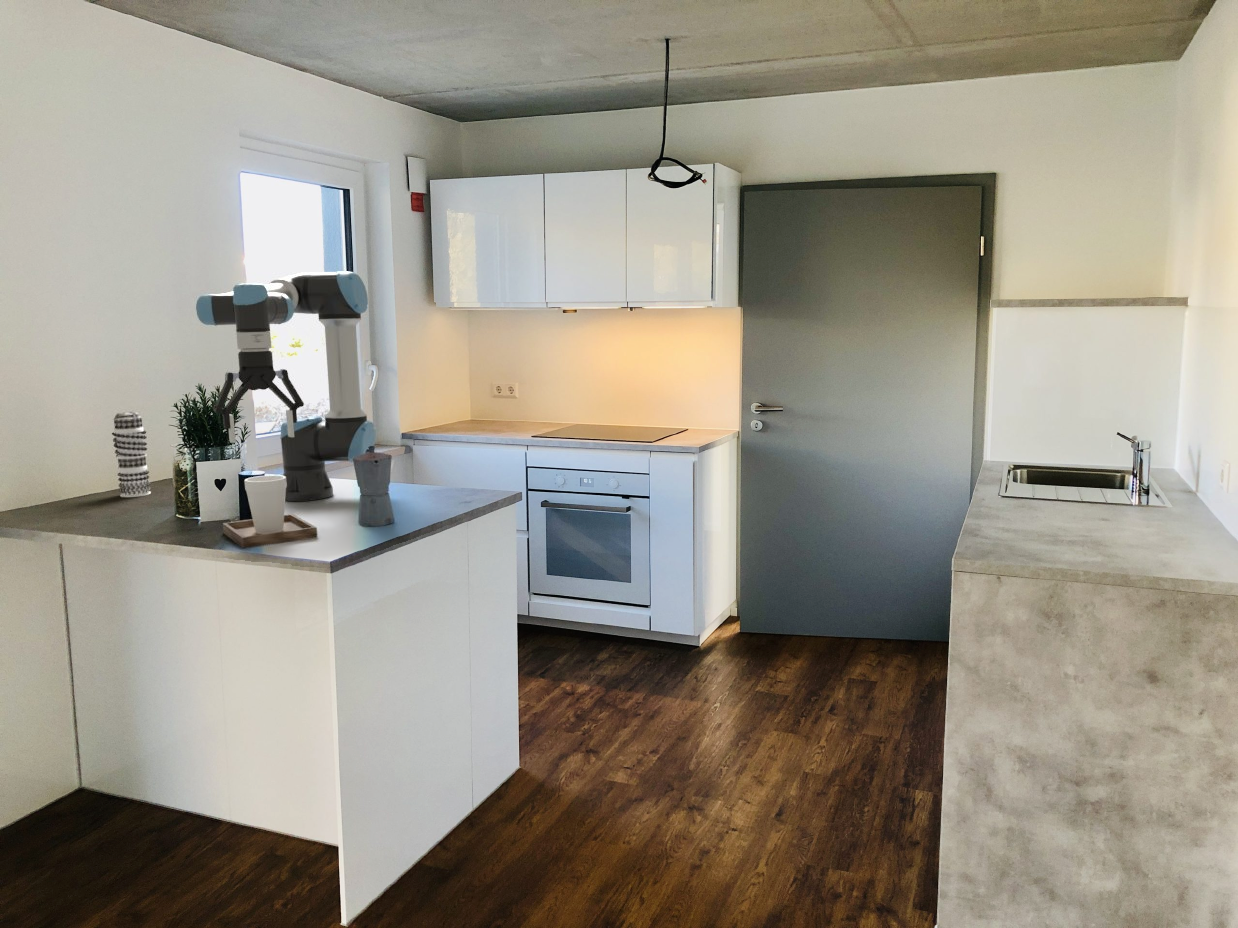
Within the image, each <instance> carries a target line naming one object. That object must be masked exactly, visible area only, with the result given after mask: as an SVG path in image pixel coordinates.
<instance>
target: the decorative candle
mask: <svg viewBox="0 0 1238 928" xmlns="http://www.w3.org/2000/svg"><path fill="white" fill-rule="evenodd" d="M142 419H143V416H140V414H139V413H138V412H136V411H127V412H126V411H125V412H118V413H116V414H115V416H114V418H112V420H113V425H114V428H113V429H114V432H112V433H111V435H112V436H113V437H114V438H113V439H112V441H113V442H114V443H113V447H114V448H116V449H115V450H114V453H115V454H116V456H115V458H116V459H117V463H118V469H117V470H118V473H117V476H118V477H119V478H118V479H117V480H118V481H119V482H120V483H118V487H119V492H118V493H120V495H119V496H120V497H121V498H136V497H144V496H148V495H151V493H152V491H150V490H151V486H150V485H151V482H150V480H149V479H150V476H149V475H148V474H149V473H150V471H149V470H148V465H147V459H146V457H147V456H148V454H147V453H146V451H147V450H148V448H147V447H145V446H146V445H147V444H148V443H147V442H145V441H144V440H146V439H147V435H145V434H147V431H146V430H145V429H144V426H143V420H142Z"/></svg>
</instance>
